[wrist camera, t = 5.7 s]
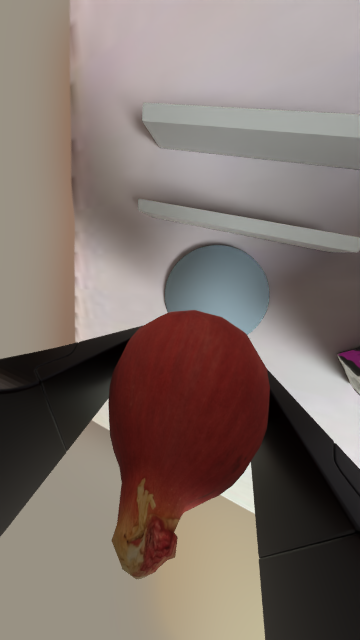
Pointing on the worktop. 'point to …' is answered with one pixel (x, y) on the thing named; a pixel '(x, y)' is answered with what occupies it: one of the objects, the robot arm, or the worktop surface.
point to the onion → (181, 426)
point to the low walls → (256, 142)
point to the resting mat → (219, 286)
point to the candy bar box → (352, 367)
